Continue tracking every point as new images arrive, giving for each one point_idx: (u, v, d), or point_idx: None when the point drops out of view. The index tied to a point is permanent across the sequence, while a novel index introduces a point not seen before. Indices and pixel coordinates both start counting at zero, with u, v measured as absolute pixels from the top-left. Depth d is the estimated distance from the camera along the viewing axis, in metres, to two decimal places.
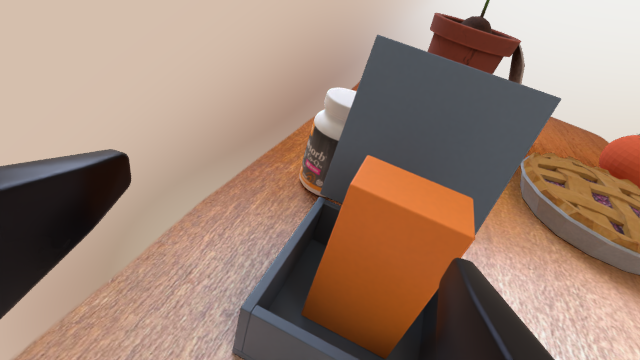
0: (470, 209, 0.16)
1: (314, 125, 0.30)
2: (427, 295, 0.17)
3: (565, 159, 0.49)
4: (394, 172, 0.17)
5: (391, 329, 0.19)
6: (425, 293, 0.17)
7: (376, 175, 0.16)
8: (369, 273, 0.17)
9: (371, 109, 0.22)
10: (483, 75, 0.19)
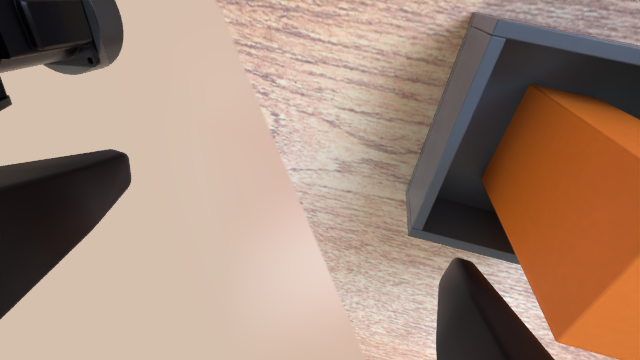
0: (629, 359, 0.10)
1: None
2: (516, 248, 0.14)
3: None
4: None
5: (498, 194, 0.17)
6: (518, 247, 0.14)
7: None
8: (550, 185, 0.13)
9: None
10: None
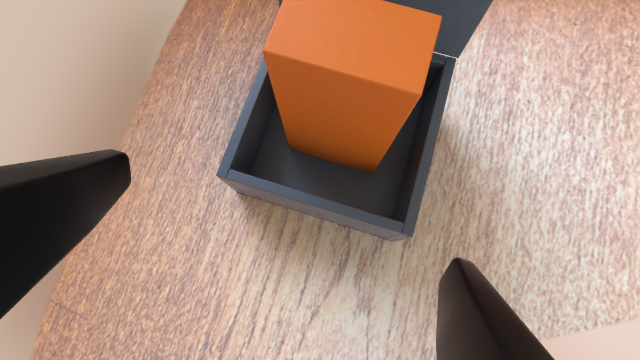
0: (430, 41, 0.12)
1: None
2: (389, 138, 0.16)
3: None
4: (328, 2, 0.12)
5: (368, 158, 0.19)
6: (386, 137, 0.16)
7: (300, 18, 0.12)
8: (327, 123, 0.16)
9: None
10: None
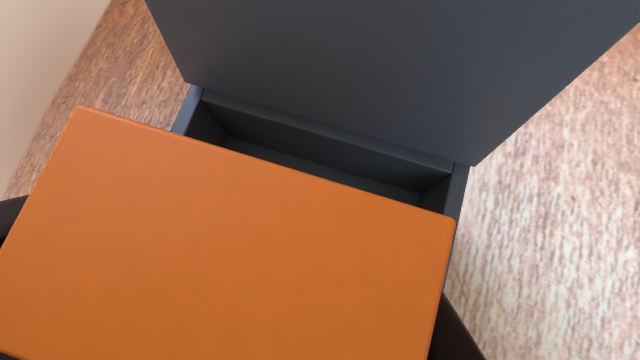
0: (425, 305, 0.04)
1: None
2: None
3: None
4: (157, 182, 0.05)
5: None
6: None
7: (75, 231, 0.05)
8: None
9: None
10: None
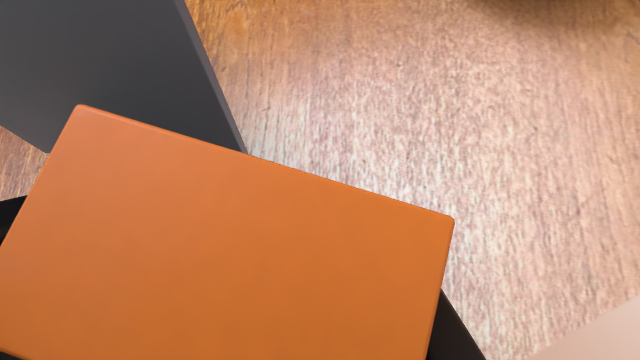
0: (423, 303, 0.04)
1: None
2: None
3: None
4: (156, 180, 0.05)
5: None
6: None
7: (74, 230, 0.05)
8: None
9: None
10: None
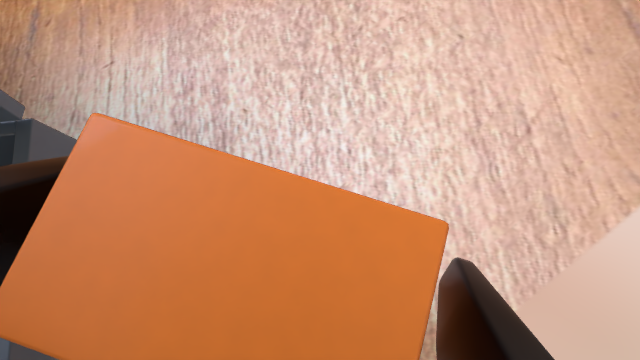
0: (419, 303, 0.05)
1: None
2: None
3: None
4: (167, 186, 0.05)
5: None
6: None
7: (90, 232, 0.05)
8: None
9: None
10: None
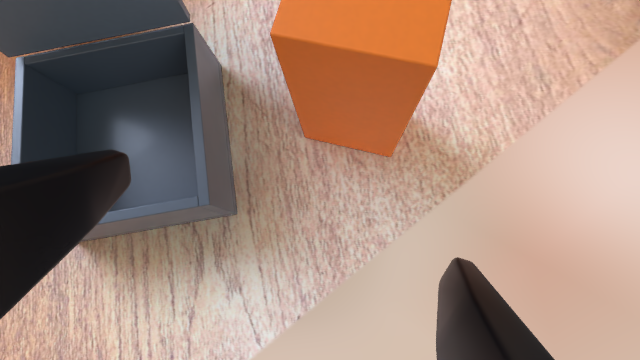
0: (444, 9, 0.11)
1: None
2: (405, 116, 0.15)
3: None
4: None
5: (385, 140, 0.19)
6: (403, 115, 0.15)
7: None
8: (341, 106, 0.16)
9: None
10: None
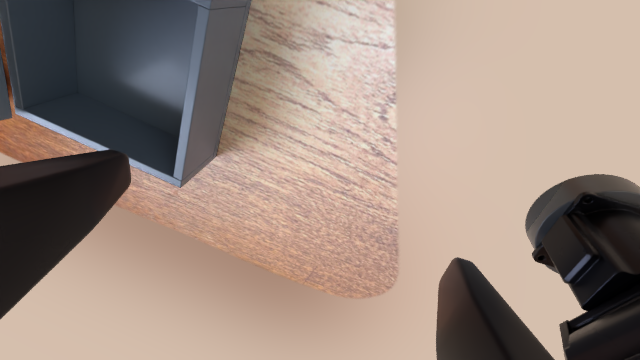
0: None
1: None
2: None
3: None
4: None
5: None
6: None
7: None
8: None
9: None
10: None
